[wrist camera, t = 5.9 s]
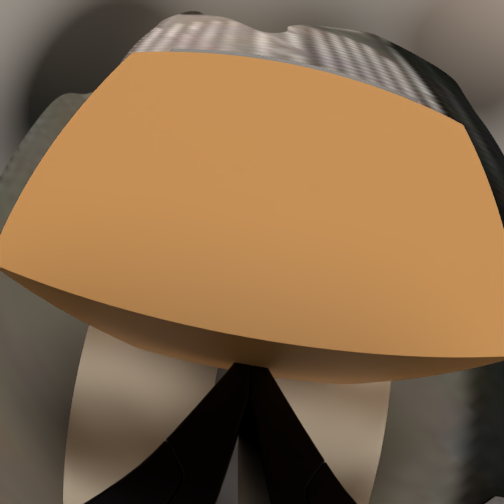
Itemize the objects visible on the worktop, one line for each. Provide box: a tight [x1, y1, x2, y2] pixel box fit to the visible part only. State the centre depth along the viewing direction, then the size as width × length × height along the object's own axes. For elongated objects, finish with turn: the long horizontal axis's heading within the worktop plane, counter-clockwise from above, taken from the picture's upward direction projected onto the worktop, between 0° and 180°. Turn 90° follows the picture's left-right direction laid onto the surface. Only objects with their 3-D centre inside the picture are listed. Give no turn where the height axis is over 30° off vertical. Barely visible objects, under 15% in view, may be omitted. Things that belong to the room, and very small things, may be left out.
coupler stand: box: [63, 49, 419, 504], centre depth 10 cm, size 24×16×9 cm, turn 170°
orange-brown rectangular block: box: [0, 52, 504, 384], centre depth 8 cm, size 6×9×9 cm, turn 80°
